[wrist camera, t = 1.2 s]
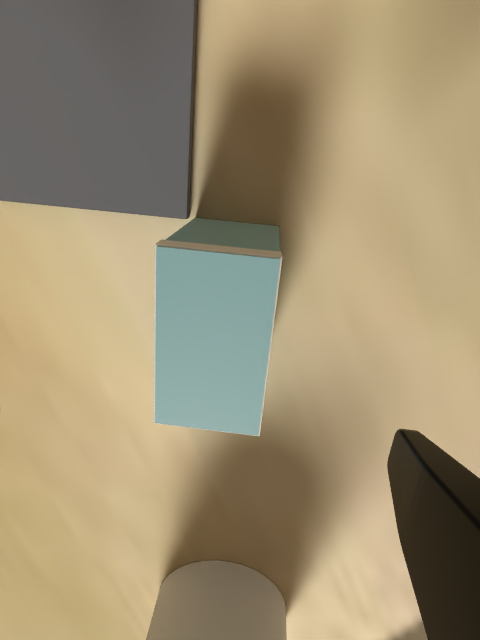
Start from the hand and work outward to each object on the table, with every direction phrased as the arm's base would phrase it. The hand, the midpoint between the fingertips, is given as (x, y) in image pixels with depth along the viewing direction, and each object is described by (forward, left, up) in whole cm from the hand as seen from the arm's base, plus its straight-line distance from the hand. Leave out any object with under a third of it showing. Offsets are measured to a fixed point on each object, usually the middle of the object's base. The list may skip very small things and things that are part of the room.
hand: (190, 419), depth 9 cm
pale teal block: (0, 0, -10) cm, 10 cm away
